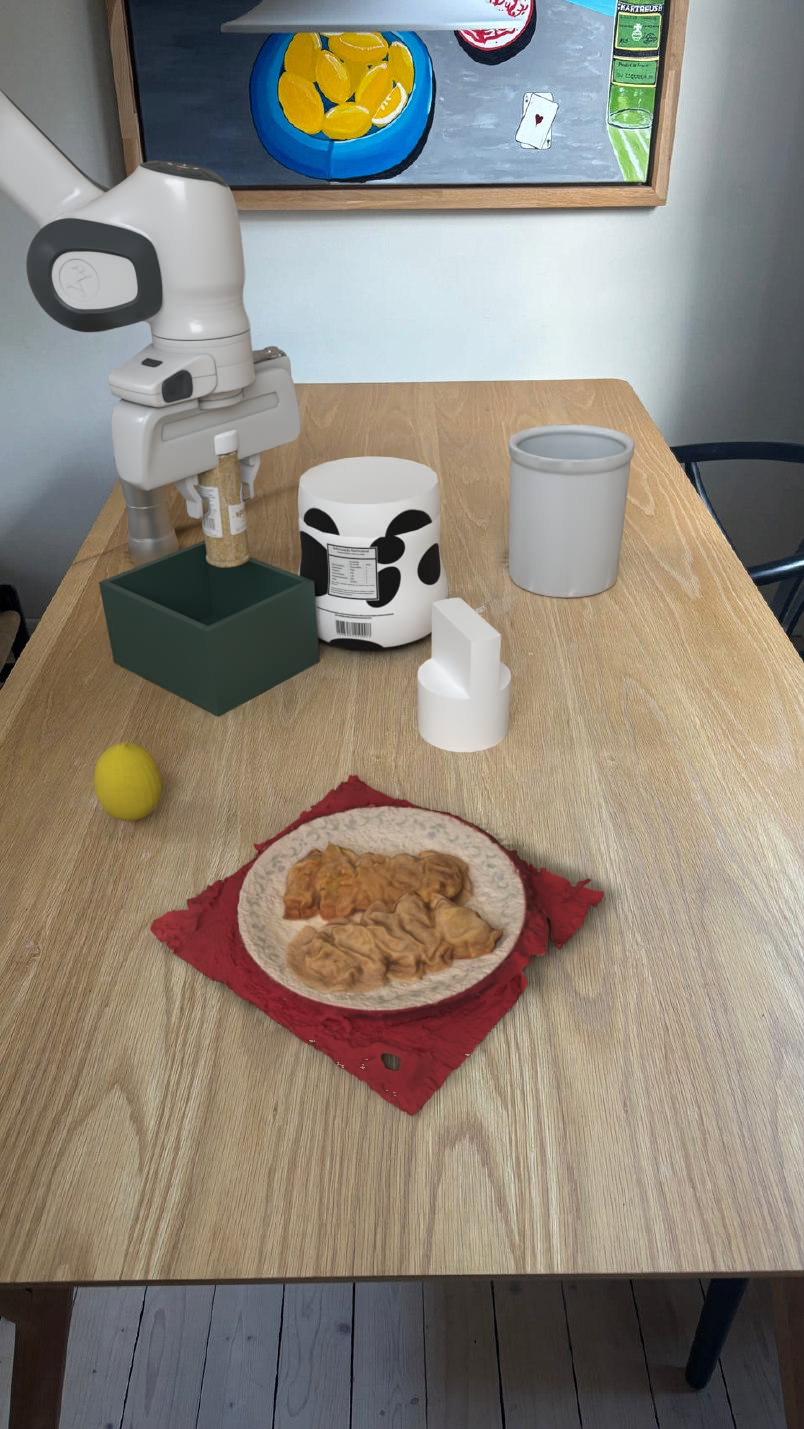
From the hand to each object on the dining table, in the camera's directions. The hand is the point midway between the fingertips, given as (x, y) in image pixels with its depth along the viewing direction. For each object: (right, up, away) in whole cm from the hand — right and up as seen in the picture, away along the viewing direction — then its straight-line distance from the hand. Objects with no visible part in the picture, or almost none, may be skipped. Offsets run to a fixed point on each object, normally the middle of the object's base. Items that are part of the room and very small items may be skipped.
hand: (221, 507), depth 101 cm
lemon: (-6, -30, -11) cm, 32 cm away
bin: (-3, -15, +12) cm, 19 cm away
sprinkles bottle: (0, -5, +3) cm, 6 cm away
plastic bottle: (-15, -1, +35) cm, 38 cm away
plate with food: (+16, -37, -22) cm, 46 cm away
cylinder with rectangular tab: (+24, -22, +1) cm, 32 cm away
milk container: (+14, -10, +19) cm, 26 cm away
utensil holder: (+38, -3, +30) cm, 49 cm away
